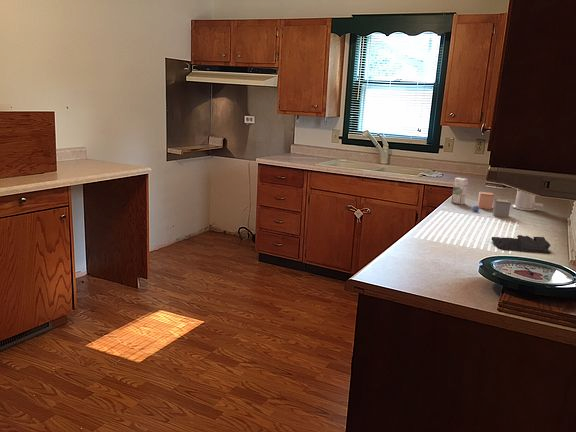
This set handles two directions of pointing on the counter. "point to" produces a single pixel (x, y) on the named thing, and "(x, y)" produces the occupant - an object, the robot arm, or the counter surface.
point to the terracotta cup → (485, 200)
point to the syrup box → (459, 190)
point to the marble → (475, 208)
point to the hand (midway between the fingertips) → (496, 153)
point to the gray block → (501, 208)
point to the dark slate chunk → (523, 244)
